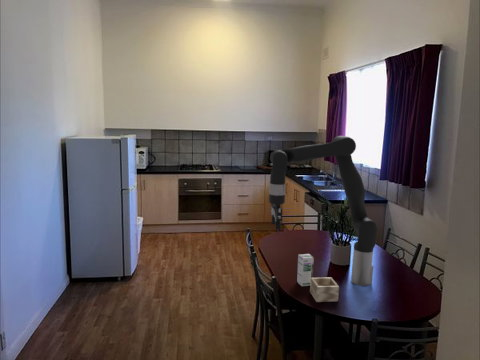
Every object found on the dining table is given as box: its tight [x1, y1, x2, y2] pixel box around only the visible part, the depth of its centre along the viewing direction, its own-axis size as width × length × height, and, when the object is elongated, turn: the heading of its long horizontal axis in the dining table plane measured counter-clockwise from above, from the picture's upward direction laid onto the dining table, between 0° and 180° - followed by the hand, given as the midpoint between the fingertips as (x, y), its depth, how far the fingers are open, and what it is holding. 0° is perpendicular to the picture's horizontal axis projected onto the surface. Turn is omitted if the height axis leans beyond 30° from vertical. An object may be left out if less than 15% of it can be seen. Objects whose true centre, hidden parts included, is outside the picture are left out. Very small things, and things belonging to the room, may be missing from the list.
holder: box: [309, 276, 340, 303], centre depth 177 cm, size 10×10×7 cm
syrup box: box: [296, 253, 315, 287], centre depth 190 cm, size 6×6×14 cm
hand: (275, 226), depth 184 cm, fingers open, 8 cm apart
